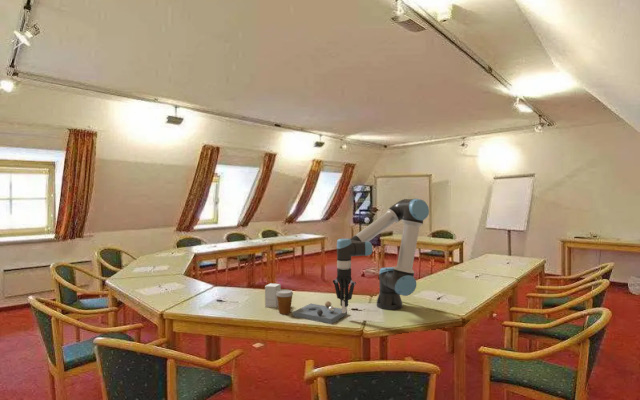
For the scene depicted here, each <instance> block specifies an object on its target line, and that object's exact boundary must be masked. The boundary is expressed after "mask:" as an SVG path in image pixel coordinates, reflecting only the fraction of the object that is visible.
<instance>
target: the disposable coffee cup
mask: <svg viewBox="0 0 640 400" xmlns="http://www.w3.org/2000/svg"><path fill="white" fill-rule="evenodd" d="M276 295H277V299H278V313H279V314H281V315H288V314H290V313H291V310H292V309H291V308H292V301H293V300H292V299H293V295H294V292H293V290H292V289H281V290H279V291H277V293H276Z"/></svg>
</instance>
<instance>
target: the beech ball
mask: <svg viewBox="0 0 640 400" xmlns="http://www.w3.org/2000/svg"><path fill="white" fill-rule="evenodd" d="M324 306H326V307H327V308H329V307H330V306H332V303H331V302H330V301H329V300H328V301H326V302H325V305H324Z"/></svg>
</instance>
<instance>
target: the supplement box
mask: <svg viewBox="0 0 640 400" xmlns="http://www.w3.org/2000/svg"><path fill="white" fill-rule="evenodd" d="M281 287H282V285H281V283H271V282H270V283H268V284H266V285H265V286H264V302H265V304H264V305H265V308H275V309H276V308H277V307H278V299H277V295H276V293H277V291H279V290H282V288H281ZM278 308H279V307H278Z"/></svg>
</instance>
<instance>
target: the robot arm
mask: <svg viewBox="0 0 640 400" xmlns="http://www.w3.org/2000/svg"><path fill="white" fill-rule="evenodd" d="M429 208H430V207H429V205H428V204H427V202H426V201H424V200H422V199H420V198H403V199H401V200H399V201H397V202H396V203H394V204H393V205H391V206H390V207H389V208H388V209H387V210H386V212H385V213H384V214H382V215H380V216H379V217H378V218H377V219H376V220H374V221H373V222H371V223H370V224H369V225H367V226H366V227H365V228H363V229H362V230H360V231H359V232H357V233H356V234H355V235H354V236H352V237H351V238H339V239H337V241H336V275H337V276H336V279H334V280H332V283H333V285H334V288H335V289H334V290H335V294H336V298H337V299H338V300H339V301H340V306H341V309H342V313H346V312H347V313H348V306H349V301H350V300H352V297H353V292H354V289H355V285H356V284H357V283H356V281H353V278H352V269H351V268H352V257H362V256H363V257H366V256H371V255H372V253H373V250H374V249H373V244H372V243H371V241H372V240H373V239H374V238H375V237H376V236H378V235H379V234H381V233H382V232H383V231H384V230H386V229H387V228H389V227H390V226H391V225H393V224H396V223H398V222H400V221H401V222H402V224H403V228H402V235H401V240H400V246H399V251H398V257H397V262H396V263H397V264H396V266H387V267H381V268H379V277H378V279H379V294H378V297H377V299H376V307H377V308H379V309H383V310H389V311H390V310H391V311H393V310H394V311H395V310H400V309H402V308H403V300H402V298H401V296H403V297H406V296H410V295H411V294H413V293H414V292H415V291H416V289H417V281H416V278H415V271H414V269H413V267H414V266H413V265H414V261H415V255H416V250H417V243H418V238H419V237H418V236H419V232H420V227H421V226H423V225H424V221H425V220H426V219H427V218H428V216H429V213H430V209H429Z"/></svg>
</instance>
